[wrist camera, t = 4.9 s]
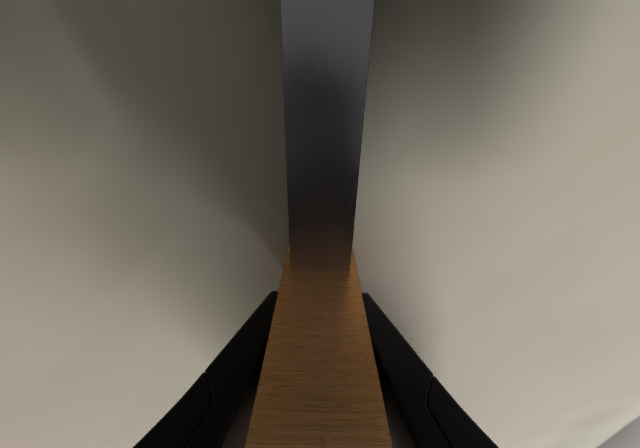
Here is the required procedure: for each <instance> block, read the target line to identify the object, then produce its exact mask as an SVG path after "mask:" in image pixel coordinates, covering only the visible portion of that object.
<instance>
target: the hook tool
mask: <svg viewBox="0 0 640 448" xmlns="http://www.w3.org/2000/svg"><path fill="white" fill-rule="evenodd" d="M373 9H374V0H281V25H282V53H283V80H284V107H285V134H286V162H287V189H288V216H289V245H288V250H287V254H286V259H285V264H284V268H283V273H282V277H281V282H280V287H279V291H278V296H277V301H276V305H275V310H274V314H273V319H272V324H271V328H270V333H269V338H268V342H267V347H266V352H265V356H264V361H263V365H262V370H261V375H260V379H259V384H258V389H257V393H256V398H255V402H254V407H253V412H252V416H251V421H250V426H249V430H248V435H247V439H246V444H245V448H393V446H392V441H391V436H390V431H389V427H388V422H387V417H386V412H385V407H384V402H383V397H382V392H381V387H380V382H379V377H378V372H377V367H376V362H375V357H374V352H373V347H372V343H371V338H370V333H369V328H368V323H367V318H366V313H365V308H364V303H363V298H362V293H361V288H360V283H359V278H358V273H357V268H356V264H355V259H354V254H353V249H352V241H353V230H354V219H355V208H356V197H357V186H358V175H359V164H360V153H361V141H362V130H363V119H364V108H365V97H366V86H367V75H368V64H369V53H370V42H371V31H372V20H373Z"/></svg>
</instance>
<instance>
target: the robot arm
mask: <svg viewBox="0 0 640 448" xmlns="http://www.w3.org/2000/svg"><path fill="white" fill-rule="evenodd" d="M277 296H278V291H272V292H271V293H270V294H269V295H268V296H267V297H266V299H265V300H264V301H263V302H262V303H261V304H260V306H259V307H258V308H257V309H256V310H255V312H254V313H253V314H252V315H251V316H250V318H249V319H248V320H247V321H246V322H245V324H244V325H243V326H242V327H241V328H240V329H239V331H238V332H237V333H236V334H235V335H234V337H233V338H232V339H231V340H230V341H229V343H228V344H227V345H226V346H225V347H224V349H223V350H222V351H221V352H220V353H219V354H218V356H217V357H216V358H215V359H214V360H213V362H212V363H211V364H210V365H209V366H208V368H207V369H206V370H205V372H204V373H202V375H201V376H200V377H199V378H198V379H197V381H196V382H195V383H194V384H193V385H192V386H191V387H190V389H189V390H188V391H187V392H186V393H185V394H184V395H183V397H182V398H181V399H180V400H179V401H178V402H177V403H176V404H175V405H174V406H173V407H172V408H171V409H170V410H169V412H168V413H167V414H166V415H165V416H164V417H163V418H162V419H161V420H160V421H159V422H158V423H157V424H156V425H155V426H154V427H153V428H152V429H151V430H150V431H149V432H148V433H147V434H146V435H145V436H144V437H143V438H142V439H141V440H140V441H139V442H138V443H137V444H136V445H135V446H134V447H133V448H245V444H246V439H247V435H248V430H249V426H250V421H251V416H252V412H253V407H254V402H255V398H256V393H257V389H258V384H259V379H260V375H261V370H262V365H263V361H264V356H265V352H266V347H267V342H268V338H269V333H270V328H271V324H272V319H273V314H274V310H275V305H276V301H277ZM362 298H363V303H364V308H365V313H366V318H367V323H368V328H369V333H370V338H371V343H372V347H373V352H374V357H375V362H376V367H377V372H378V377H379V382H380V387H381V392H382V397H383V402H384V407H385V412H386V417H387V422H388V427H389V431H390V436H391V441H392V446H393V448H499V447H498V446H497V445H496V444H495V443H494V442H493V441H492V440H491V439H490V438H489V437H488V436H487V435H486V434H485V433H484V432H483V431H482V430H481V429H480V427H479V426H478V425H477V424H476V423H475V422H474V421H473V420H472V419H471V418H470V417H469V416H468V415H467V413H466V412H465V411H464V410H463V409H462V408H461V407H460V406H459V405H458V403H457V402H456V401H455V400H454V399H453V398H452V396H451V395H450V394H449V393H448V392H447V390H446V389H445V388H444V387H443V386H442V384H441V383H440V382H439V381H438V379H437V378H436V377H435V376H433V373H432V372H431V371H430V370H429V368H428V367H427V366H426V365H425V363H424V362H423V361H422V360H421V358H420V357H419V356H418V355H417V353H416V352H415V351H414V350H413V348H412V347H411V346H410V345H409V344H408V342H407V341H406V340H405V339H404V337H403V336H402V335H401V334H400V332H399V331H398V330H397V329H396V327H395V326H394V325H393V324H392V322H391V321H390V320H389V319H388V318H387V316H386V315H385V314H384V313H383V311H382V310H381V309H380V308H379V306H378V305H377V304H376V303H375V301H374V300H373V299H372V298H371V296H370V295H369V294H368V293H362Z"/></svg>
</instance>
